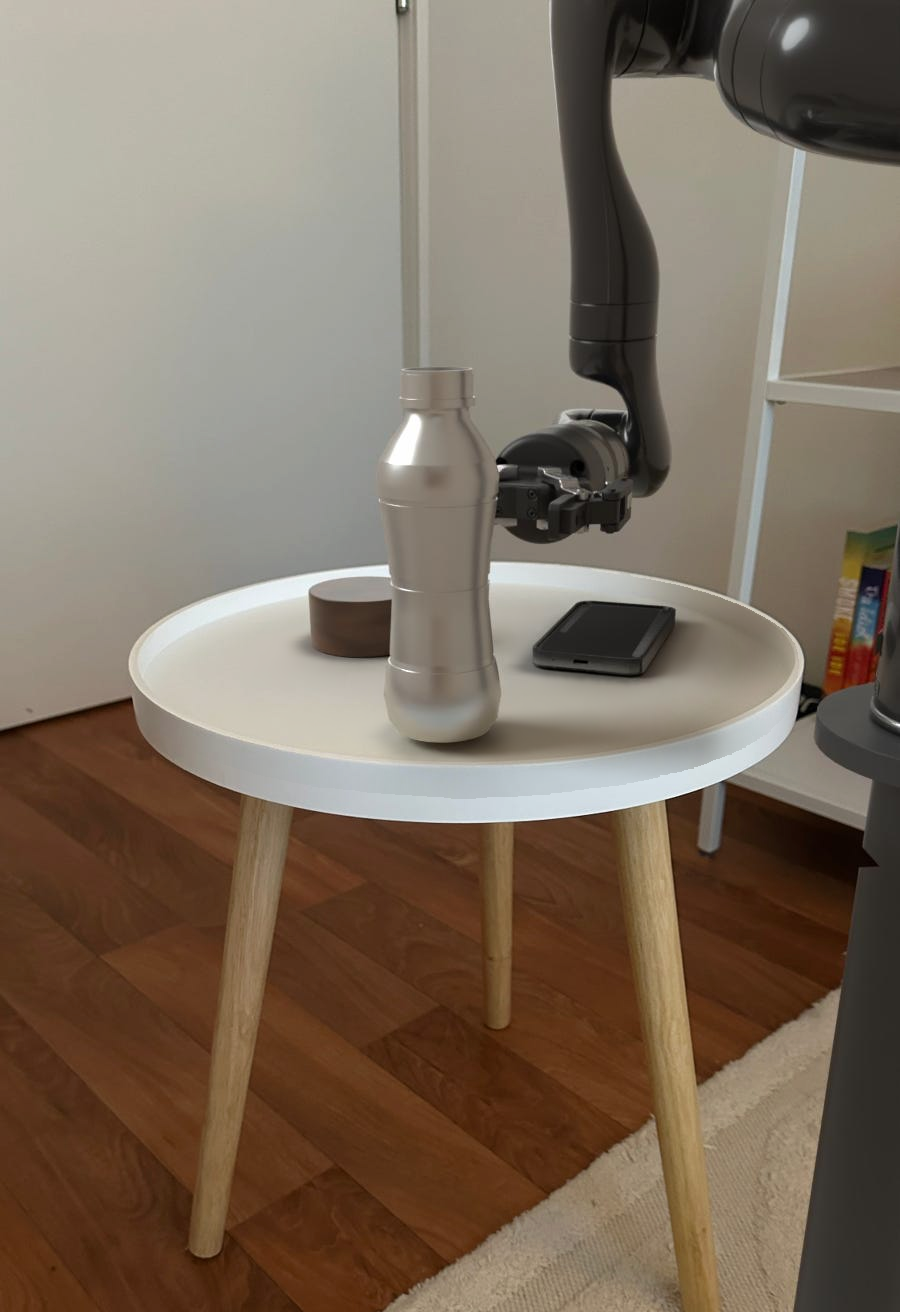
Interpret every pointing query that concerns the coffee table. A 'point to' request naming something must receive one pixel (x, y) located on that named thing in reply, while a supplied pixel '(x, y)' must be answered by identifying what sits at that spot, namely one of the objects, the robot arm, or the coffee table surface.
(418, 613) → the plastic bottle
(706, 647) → the coffee table surface
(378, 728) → the coffee table surface
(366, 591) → the cylinder
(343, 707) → the coffee table surface
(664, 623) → the phone
